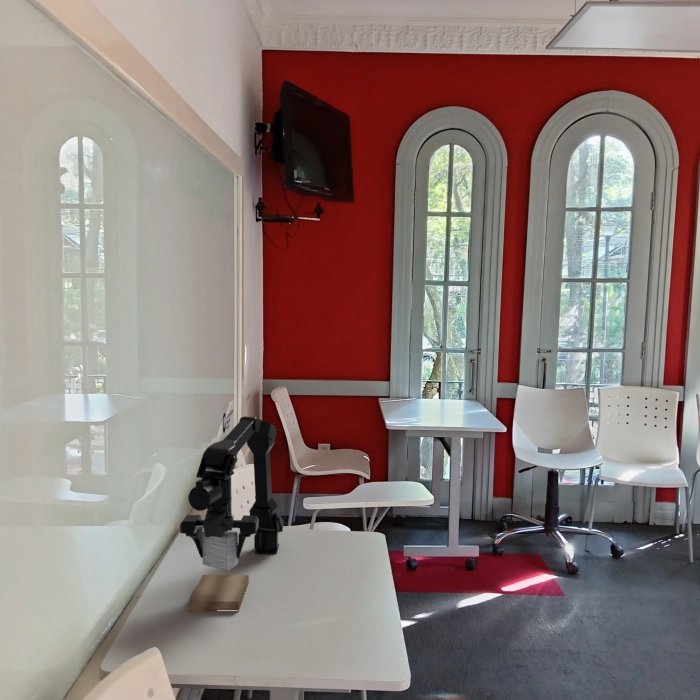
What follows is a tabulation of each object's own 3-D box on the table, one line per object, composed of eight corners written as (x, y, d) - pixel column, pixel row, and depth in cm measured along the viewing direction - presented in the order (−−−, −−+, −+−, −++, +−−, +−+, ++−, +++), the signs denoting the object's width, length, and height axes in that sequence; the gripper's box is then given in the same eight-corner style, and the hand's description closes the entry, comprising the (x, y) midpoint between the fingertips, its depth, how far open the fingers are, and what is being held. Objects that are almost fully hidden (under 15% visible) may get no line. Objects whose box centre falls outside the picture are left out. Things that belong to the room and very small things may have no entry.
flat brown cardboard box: (248, 586, 159) (248, 575, 159) (238, 613, 145) (238, 601, 145) (203, 585, 159) (203, 574, 159) (189, 613, 145) (189, 601, 145)
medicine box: (238, 564, 152) (238, 531, 151) (227, 571, 148) (227, 537, 147) (212, 558, 155) (212, 525, 155) (201, 565, 151) (201, 531, 150)
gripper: (172, 507, 142) (173, 571, 143) (252, 508, 142) (252, 572, 144) (185, 492, 153) (186, 551, 155) (259, 493, 153) (259, 552, 155)
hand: (220, 557), depth 152 cm, fingers closed on medicine box, 9 cm apart
